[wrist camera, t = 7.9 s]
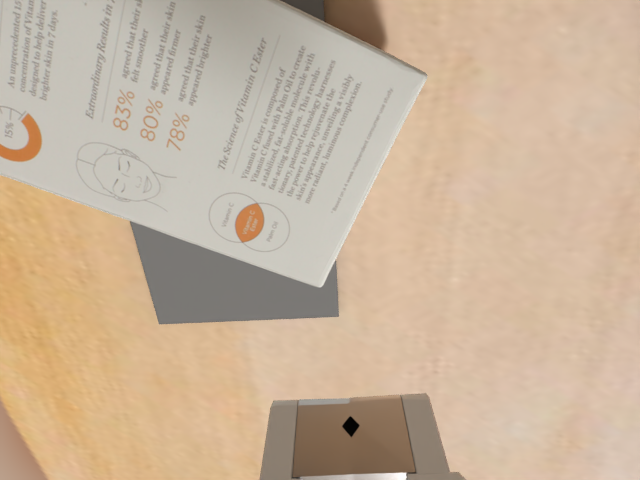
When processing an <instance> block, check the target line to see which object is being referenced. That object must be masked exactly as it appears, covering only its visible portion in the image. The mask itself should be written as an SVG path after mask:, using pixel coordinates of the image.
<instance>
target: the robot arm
mask: <svg viewBox="0 0 640 480" xmlns="http://www.w3.org/2000/svg"><path fill="white" fill-rule="evenodd" d="M260 480H466V479H465V478H464V477H463V476H462V475H461V474H460V473H459V472H450V470H449V467H448V463H447V459H446V456H445V452H444V449H443V445H442V441H441V438H440V434H439V431H438V427H437V424H436V420H435V416H434V413H433V409H432V406H431V402H430V398H429V397H428V395H427V394H426V393H425V394H407V395H400V396H399V395H387V396H370V397H354V398H347V399H304V400H281V401H273V403H272V405H271V408H270V414H269V421H268V427H267V434H266V441H265V447H264V454H263V461H262V467H261V474H260Z"/></svg>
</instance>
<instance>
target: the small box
mask: <svg viewBox="0 0 640 480" xmlns="http://www.w3.org/2000/svg"><path fill="white" fill-rule="evenodd" d="M426 79H427V74H426V73H425V72H423V71H421V70H419V69H417V68H415V67H414V66H412V65H410V64H408V63H406V62H404V61H402V60H400V59H398V58H396V57H394V56H392V55H390V54H388V53H386V52H385V51H383V50H381V49H379V48H377V47H375V46H373V45H371V44H369V43H367V42H365V41H362V40H360V39H358V38H356V37H354V36H352V35H350V34H348V33H346V32H344V31H342V30H340V29H338V28H336V27H334V26H332V25H330V24H328V23H326V22H324V21H322V20H320V19H318V18H316V17H314V16H312V15H310V14H307V13H305V12H303V11H301V10H299V9H297V8H295V7H293V6H291V5H289V4H287V3H285V2H282V1H280V0H0V175H2V176H5V177H8V178H11V179H13V180H16V181H19V182H22V183H25V184H27V185H30V186H33V187H36V188H39V189H41V190H44V191H47V192H50V193H53V194H55V195H58V196H61V197H64V198H66V199H69V200H72V201H75V202H78V203H80V204H83V205H86V206H89V207H92V208H95V209H97V210H100V211H103V212H106V213H109V214H112V215H114V216H117V217H121V218H123V219H126V220H129V221H132V222H135V223H138V224H140V225H143V226H146V227H149V228H151V229H154V230H157V231H160V232H162V233H165V234H168V235H170V236H173V237H176V238H179V239H181V240H184V241H187V242H190V243H193V244H196V245H199V246H201V247H204V248H207V249H209V250H212V251H215V252H218V253H221V254H224V255H227V256H229V257H232V258H235V259H238V260H241V261H244V262H246V263H249V264H252V265H255V266H258V267H261V268H263V269H266V270H269V271H272V272H275V273H278V274H281V275H284V276H286V277H289V278H292V279H295V280H298V281H301V282H304V283H307V284H309V285H312V286H316V287H322V286H323V285H324V283H325V281H326V278H327V276H328V274H329V272H330V270H331V268H332V266H333V264H334V262H335V260H336V258H337V256H338V254H339V252H340V250H341V248H342V246H343V244H344V241H345V239H346V237H347V235H348V233H349V231H350V229H351V227H352V225H353V223H354V221H355V219H356V217H357V215H358V213H359V211H360V209H361V207H362V205H363V203H364V201H365V199H366V197H367V195H368V193H369V191H370V189H371V187H372V185H373V183H374V181H375V179H376V177H377V175H378V173H379V171H380V169H381V167H382V165H383V163H384V161H385V159H386V157H387V155H388V153H389V151H390V149H391V147H392V145H393V143H394V141H395V139H396V137H397V135H398V133H399V131H400V129H401V127H402V126H403V124H404V122H405V120H406V118H407V116H408V114H409V112H410V110H411V108H412V106H413V104H414V102H415V100H416V98H417V96H418V95H419V93H420V91H421V89H422V87H423V85H424V83H425V81H426Z"/></svg>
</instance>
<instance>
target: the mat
mask: <svg viewBox="0 0 640 480" xmlns="http://www.w3.org/2000/svg"><path fill="white" fill-rule="evenodd" d="M280 1H282V2H285V3H287V4H289V5H291V6H293V7H295V8H297V9H299V10H301V11H303V12H305V13H307V14H310V15H312V16H314V17H316V18H318V19H320V20H322V21H324V1H323V0H280ZM324 22H325V21H324ZM130 223H131V226H132V230H133V233H134V237H135V240H136V244H137V247H138V251H139V255H140V258H141V262H142V265H143V269H144V272H145V276H146V279H147V283H148V286H149V290H150V294H151V297H152V301H153V304H154V308H155V311H156V315H157V318H158V322H159V324H178V323H202V322H225V321H249V320H273V319H296V318H320V317H339V311H338V291H337V270H336V260H335V262H334V264H333V266H332V268H331V270H330V272H329V274H328V276H327V278H326V281H325V283H324V285H323V286H322V287H316V286H312V285H309V284H307V283H304V282H301V281H298V280H295V279H292V278H289V277H286V276H284V275H281V274H278V273H275V272H272V271H269V270H266V269H263V268H261V267H258V266H255V265H252V264H249V263H246V262H244V261H241V260H238V259H235V258H232V257H229V256H227V255H224V254H221V253H218V252H215V251H212V250H209V249H207V248H204V247H201V246H199V245H196V244H193V243H190V242H187V241H184V240H181V239H179V238H176V237H173V236H170V235H168V234H165V233H162V232H160V231H157V230H154V229H151V228H149V227H146V226H143V225H140V224H138V223H135V222H132V221H130Z"/></svg>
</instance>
